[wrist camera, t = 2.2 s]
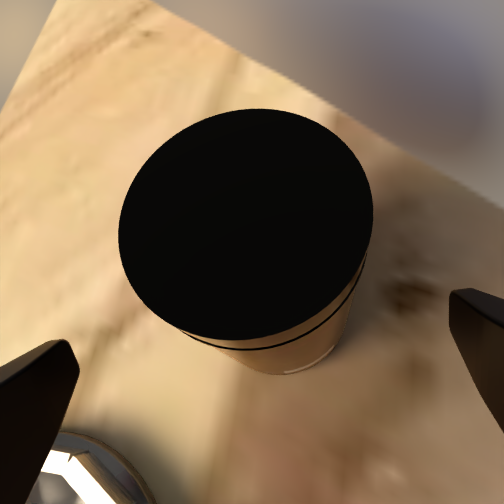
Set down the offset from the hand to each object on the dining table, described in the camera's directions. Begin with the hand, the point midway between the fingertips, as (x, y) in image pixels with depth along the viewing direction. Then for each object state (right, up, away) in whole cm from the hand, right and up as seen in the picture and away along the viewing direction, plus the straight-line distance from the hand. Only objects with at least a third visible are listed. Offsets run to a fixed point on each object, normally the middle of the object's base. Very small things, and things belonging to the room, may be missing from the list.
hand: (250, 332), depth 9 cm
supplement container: (+1, -1, +11) cm, 11 cm away
